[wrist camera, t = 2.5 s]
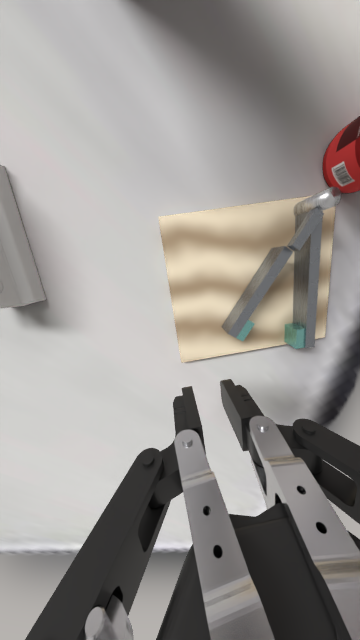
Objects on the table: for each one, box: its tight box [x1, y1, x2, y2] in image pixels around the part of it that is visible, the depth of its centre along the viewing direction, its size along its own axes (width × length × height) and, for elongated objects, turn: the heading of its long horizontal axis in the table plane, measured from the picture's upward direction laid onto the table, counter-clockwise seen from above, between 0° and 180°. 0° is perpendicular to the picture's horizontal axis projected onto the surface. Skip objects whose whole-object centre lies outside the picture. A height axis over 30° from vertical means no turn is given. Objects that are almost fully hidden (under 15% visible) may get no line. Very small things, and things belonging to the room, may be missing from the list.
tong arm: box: [221, 208, 324, 341], centre depth 26 cm, size 18×3×4 cm, turn 150°
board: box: [159, 196, 336, 363], centre depth 29 cm, size 21×24×1 cm
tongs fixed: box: [284, 187, 341, 349], centre depth 26 cm, size 20×3×5 cm, turn 8°
